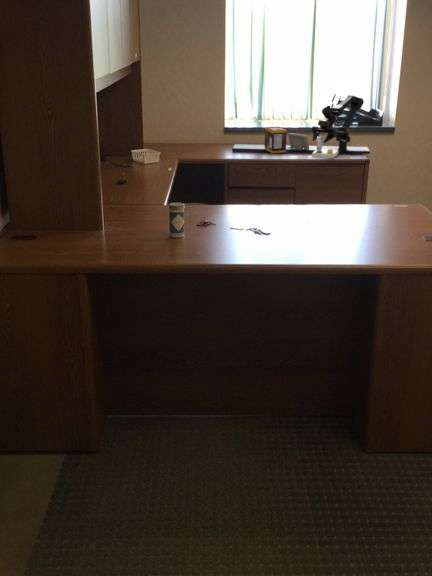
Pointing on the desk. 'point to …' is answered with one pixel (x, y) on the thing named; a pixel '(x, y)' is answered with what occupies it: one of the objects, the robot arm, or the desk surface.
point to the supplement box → (275, 139)
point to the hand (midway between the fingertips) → (318, 141)
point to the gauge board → (325, 153)
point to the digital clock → (298, 141)
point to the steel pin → (319, 144)
